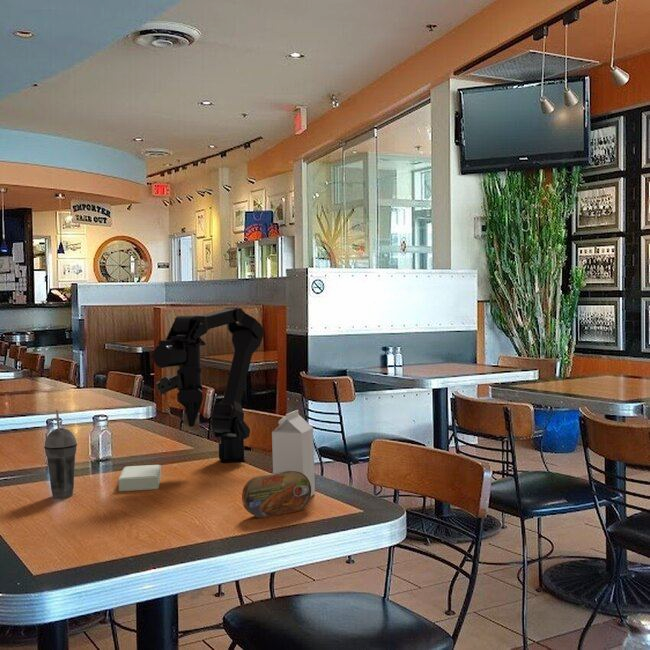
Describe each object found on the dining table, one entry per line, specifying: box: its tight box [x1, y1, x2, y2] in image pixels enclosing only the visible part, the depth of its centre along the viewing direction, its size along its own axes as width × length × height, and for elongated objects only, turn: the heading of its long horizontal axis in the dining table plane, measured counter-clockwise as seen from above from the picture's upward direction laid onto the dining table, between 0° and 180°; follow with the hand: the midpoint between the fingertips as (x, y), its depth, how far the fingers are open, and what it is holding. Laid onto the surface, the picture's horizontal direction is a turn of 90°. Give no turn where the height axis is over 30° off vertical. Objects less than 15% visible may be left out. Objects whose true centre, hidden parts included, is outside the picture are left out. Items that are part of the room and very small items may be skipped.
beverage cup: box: [43, 409, 78, 499], centre depth 185 cm, size 7×7×20 cm
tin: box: [241, 471, 312, 519], centre depth 166 cm, size 15×3×8 cm, turn 120°
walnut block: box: [182, 411, 200, 432], centre depth 207 cm, size 4×4×4 cm
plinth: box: [117, 464, 162, 492], centre depth 196 cm, size 9×14×3 cm, turn 9°
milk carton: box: [271, 409, 316, 498], centre depth 178 cm, size 7×7×19 cm
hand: (191, 425), depth 207 cm, fingers closed on walnut block, 4 cm apart
